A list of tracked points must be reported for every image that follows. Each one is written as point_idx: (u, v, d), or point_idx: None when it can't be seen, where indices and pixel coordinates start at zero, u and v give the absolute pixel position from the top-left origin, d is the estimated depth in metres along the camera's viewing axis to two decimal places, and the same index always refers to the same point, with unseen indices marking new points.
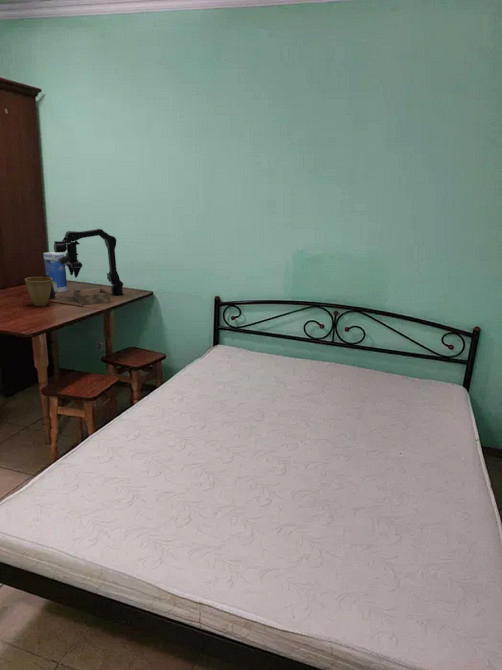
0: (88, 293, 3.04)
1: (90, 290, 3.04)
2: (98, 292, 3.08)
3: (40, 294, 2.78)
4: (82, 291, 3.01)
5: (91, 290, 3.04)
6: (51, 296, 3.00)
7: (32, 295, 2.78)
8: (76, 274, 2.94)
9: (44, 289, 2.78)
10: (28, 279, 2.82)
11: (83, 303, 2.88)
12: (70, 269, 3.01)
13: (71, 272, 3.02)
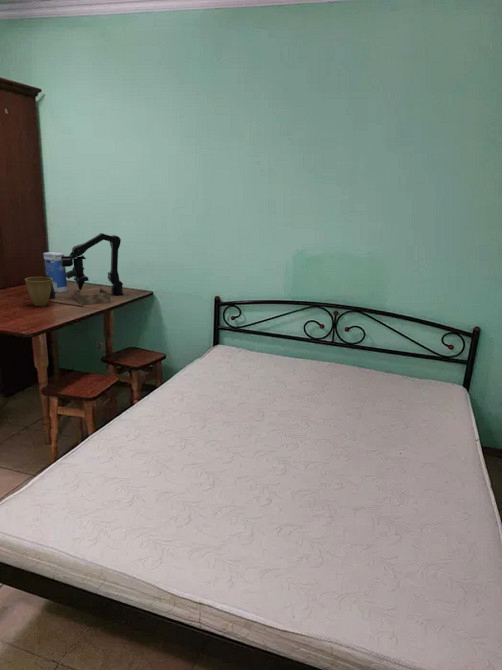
0: (88, 293, 3.04)
1: (90, 290, 3.04)
2: (98, 292, 3.08)
3: (40, 294, 2.78)
4: (82, 291, 3.01)
5: (91, 290, 3.04)
6: (51, 296, 3.00)
7: (32, 295, 2.78)
8: (80, 287, 3.05)
9: (44, 289, 2.78)
10: (28, 279, 2.82)
11: (83, 303, 2.88)
12: None
13: None
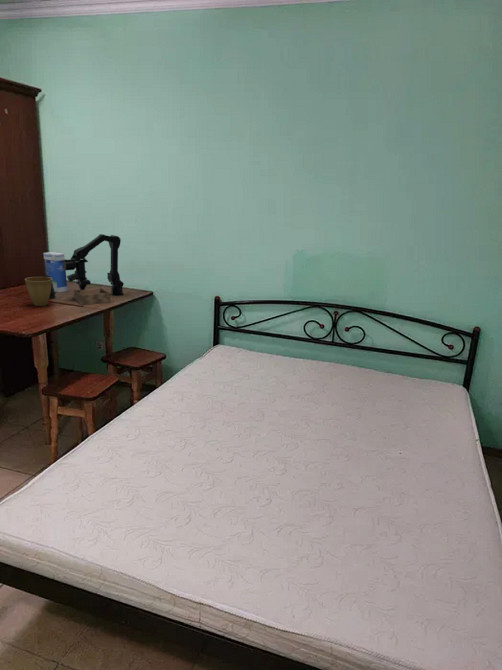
0: (88, 293, 3.04)
1: (90, 290, 3.04)
2: (98, 292, 3.08)
3: (40, 294, 2.78)
4: (82, 291, 3.01)
5: (91, 290, 3.04)
6: (51, 296, 3.00)
7: (32, 295, 2.78)
8: None
9: (44, 289, 2.78)
10: (28, 279, 2.82)
11: (83, 303, 2.88)
12: None
13: None
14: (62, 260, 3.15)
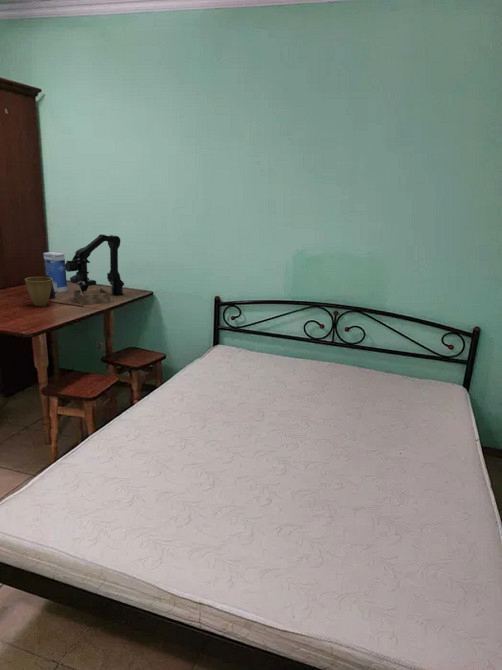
0: (90, 294, 3.02)
1: (92, 291, 3.03)
2: (98, 292, 3.08)
3: (40, 294, 2.78)
4: (85, 292, 2.99)
5: (93, 290, 3.03)
6: (51, 296, 3.00)
7: (32, 295, 2.78)
8: None
9: (44, 289, 2.78)
10: (28, 279, 2.82)
11: (83, 303, 2.88)
12: None
13: None
14: (62, 260, 3.15)
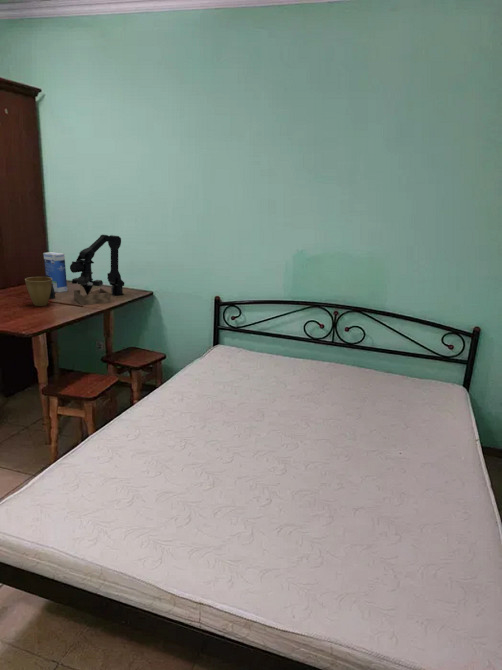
0: None
1: (95, 291, 3.02)
2: (99, 292, 3.08)
3: (40, 294, 2.78)
4: (90, 293, 2.97)
5: (95, 291, 3.03)
6: (51, 296, 3.00)
7: (32, 295, 2.78)
8: None
9: (44, 289, 2.78)
10: (28, 279, 2.82)
11: (83, 303, 2.88)
12: None
13: None
14: (62, 260, 3.15)
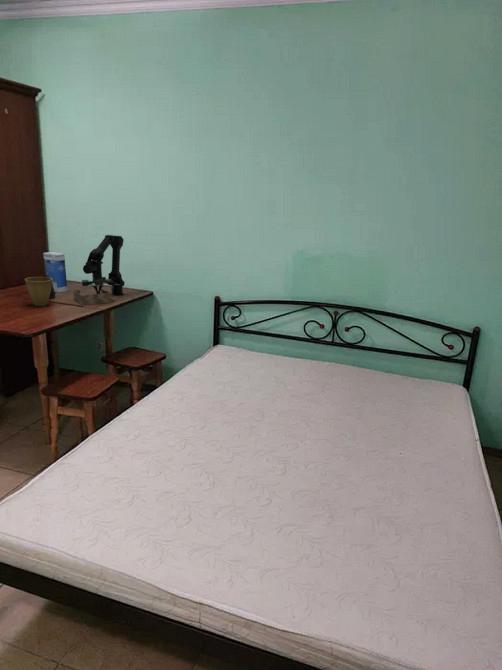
0: None
1: None
2: None
3: (40, 294, 2.78)
4: None
5: None
6: (51, 296, 3.00)
7: (32, 295, 2.78)
8: (99, 292, 2.98)
9: (44, 289, 2.78)
10: (28, 279, 2.82)
11: (83, 303, 2.88)
12: (97, 290, 2.97)
13: None
14: (62, 260, 3.15)
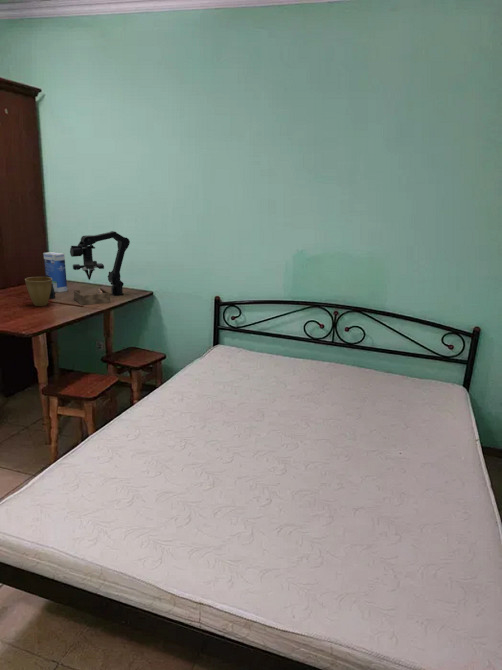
0: None
1: (100, 291, 3.03)
2: (99, 292, 3.08)
3: (40, 294, 2.78)
4: None
5: (100, 291, 3.04)
6: (51, 296, 3.00)
7: (32, 295, 2.78)
8: None
9: (44, 289, 2.78)
10: (28, 279, 2.82)
11: (83, 303, 2.88)
12: None
13: None
14: (62, 260, 3.15)
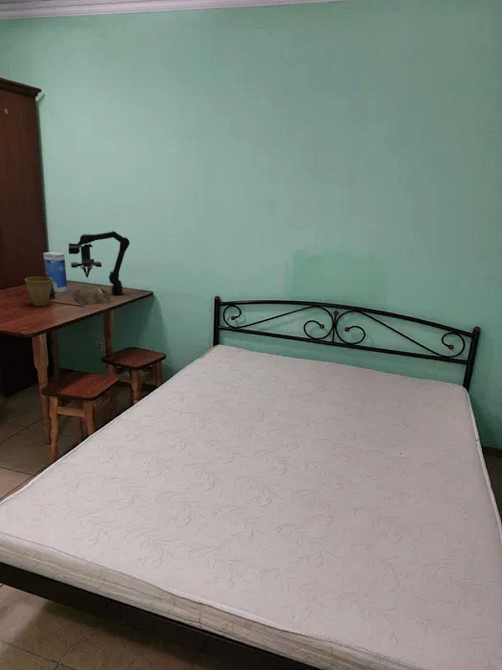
0: None
1: (100, 291, 3.03)
2: (99, 292, 3.08)
3: (40, 294, 2.78)
4: None
5: (100, 291, 3.04)
6: (51, 296, 3.00)
7: (32, 295, 2.78)
8: (88, 274, 3.10)
9: (44, 289, 2.78)
10: (28, 279, 2.82)
11: (83, 303, 2.88)
12: (86, 272, 3.09)
13: None
14: (62, 260, 3.15)
